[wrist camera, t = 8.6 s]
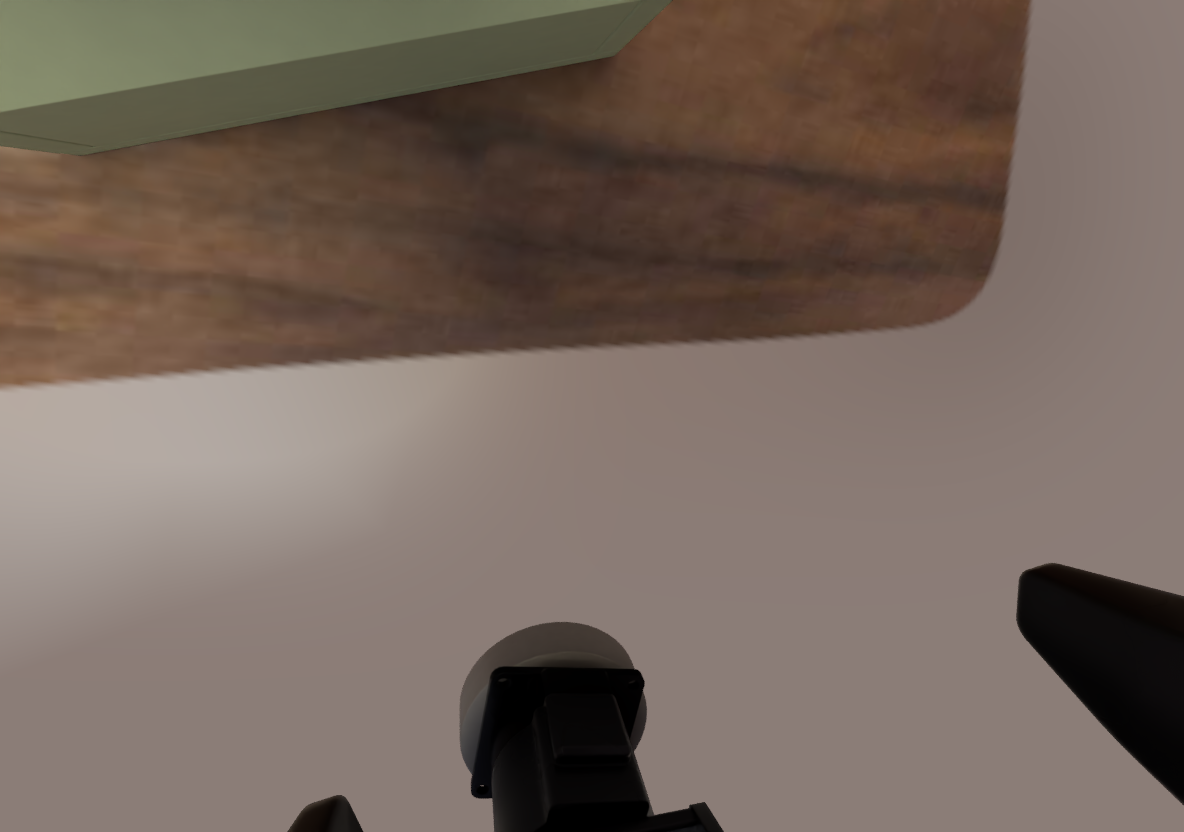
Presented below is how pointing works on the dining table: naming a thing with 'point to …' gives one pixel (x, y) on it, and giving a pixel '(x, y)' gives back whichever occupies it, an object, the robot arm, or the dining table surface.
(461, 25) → the lid
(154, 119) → the chest
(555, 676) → the robot arm
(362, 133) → the dining table surface
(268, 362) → the dining table surface
